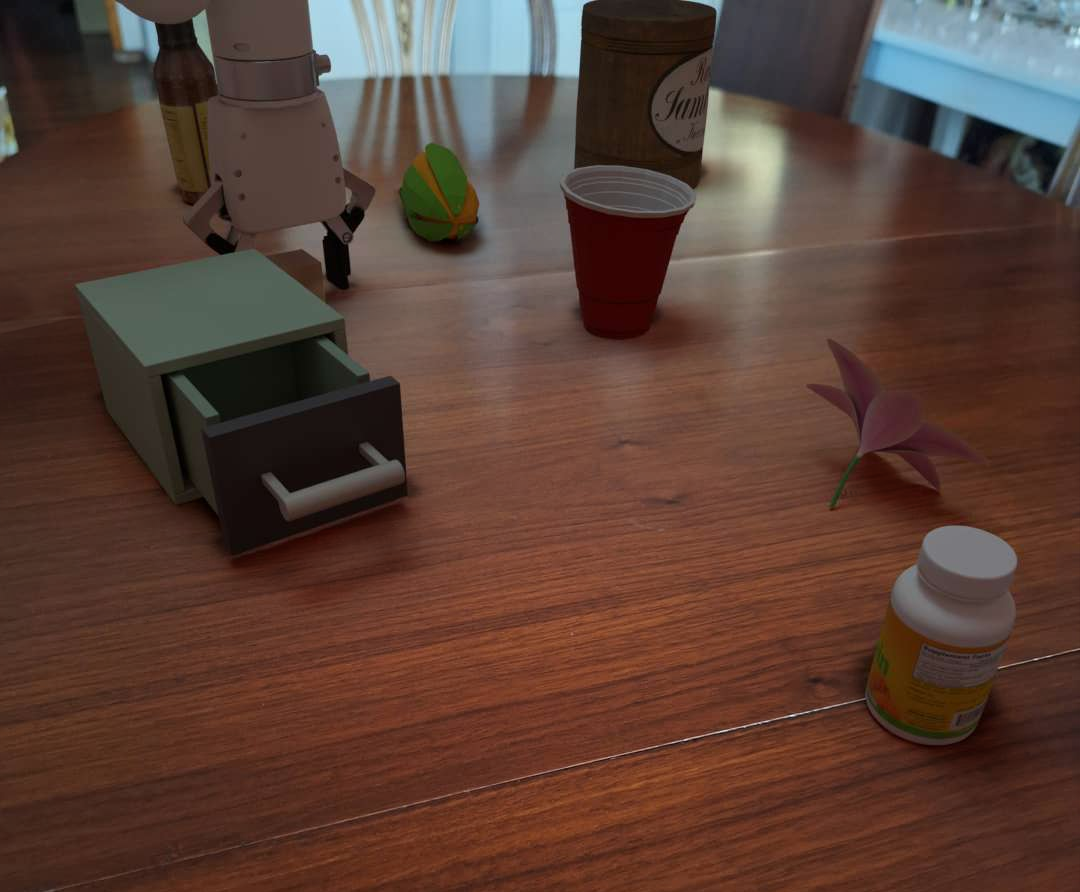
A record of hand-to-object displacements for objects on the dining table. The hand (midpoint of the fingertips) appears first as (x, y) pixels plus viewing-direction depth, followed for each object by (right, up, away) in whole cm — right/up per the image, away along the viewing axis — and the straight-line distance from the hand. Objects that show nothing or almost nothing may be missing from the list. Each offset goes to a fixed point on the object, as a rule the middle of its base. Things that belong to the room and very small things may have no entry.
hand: (294, 293), depth 90 cm
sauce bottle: (-15, +16, +24) cm, 32 cm away
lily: (+43, -18, -22) cm, 52 cm away
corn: (+10, +12, +18) cm, 24 cm away
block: (0, -1, +1) cm, 1 cm away
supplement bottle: (+40, -30, -39) cm, 63 cm away
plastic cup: (+28, -3, -2) cm, 28 cm away
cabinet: (0, -14, -18) cm, 22 cm away
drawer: (+6, -18, -25) cm, 32 cm away
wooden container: (+33, +21, +32) cm, 51 cm away
